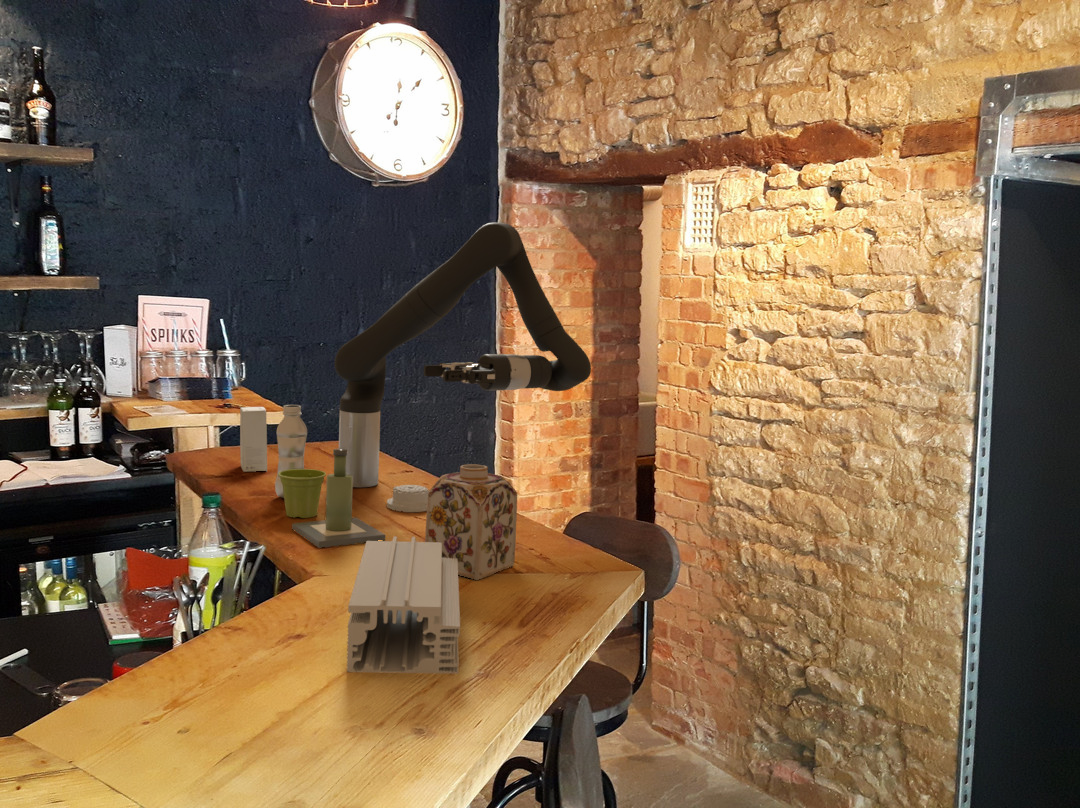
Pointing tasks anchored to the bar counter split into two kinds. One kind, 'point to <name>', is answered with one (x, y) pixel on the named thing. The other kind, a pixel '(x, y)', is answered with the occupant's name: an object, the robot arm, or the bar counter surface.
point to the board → (337, 533)
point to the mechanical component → (409, 498)
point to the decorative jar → (473, 520)
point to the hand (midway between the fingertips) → (434, 373)
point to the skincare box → (253, 439)
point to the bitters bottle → (339, 494)
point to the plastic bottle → (290, 443)
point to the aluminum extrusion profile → (404, 610)
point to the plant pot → (301, 491)
